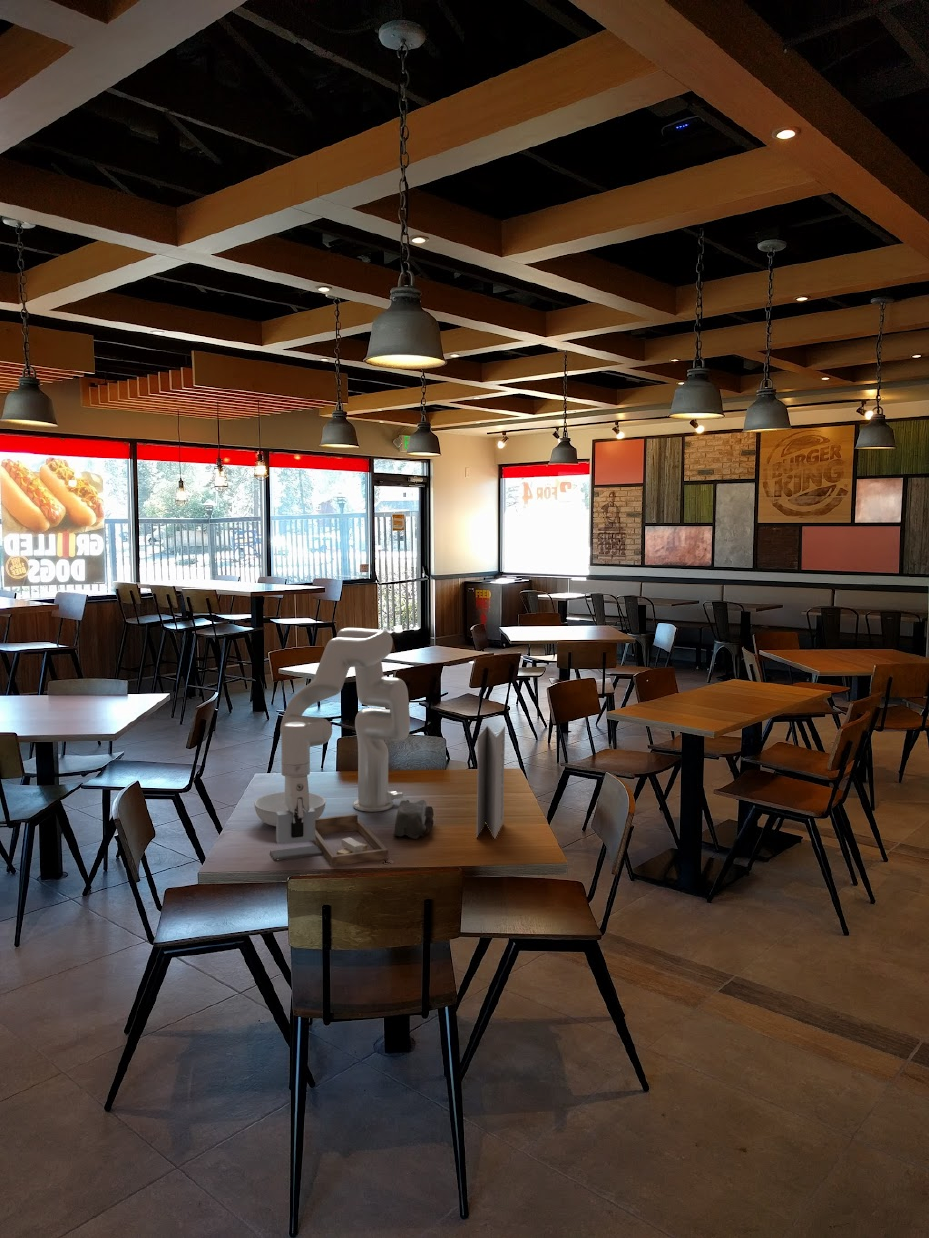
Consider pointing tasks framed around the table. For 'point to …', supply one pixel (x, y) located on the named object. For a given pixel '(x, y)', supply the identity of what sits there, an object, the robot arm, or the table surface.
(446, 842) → the table surface
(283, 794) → the serving bowl
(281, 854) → the mat
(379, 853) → the wooden tray
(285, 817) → the light grey block
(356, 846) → the offcut upper
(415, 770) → the table surface
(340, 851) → the offcut lower
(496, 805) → the brochure
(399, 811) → the rock
